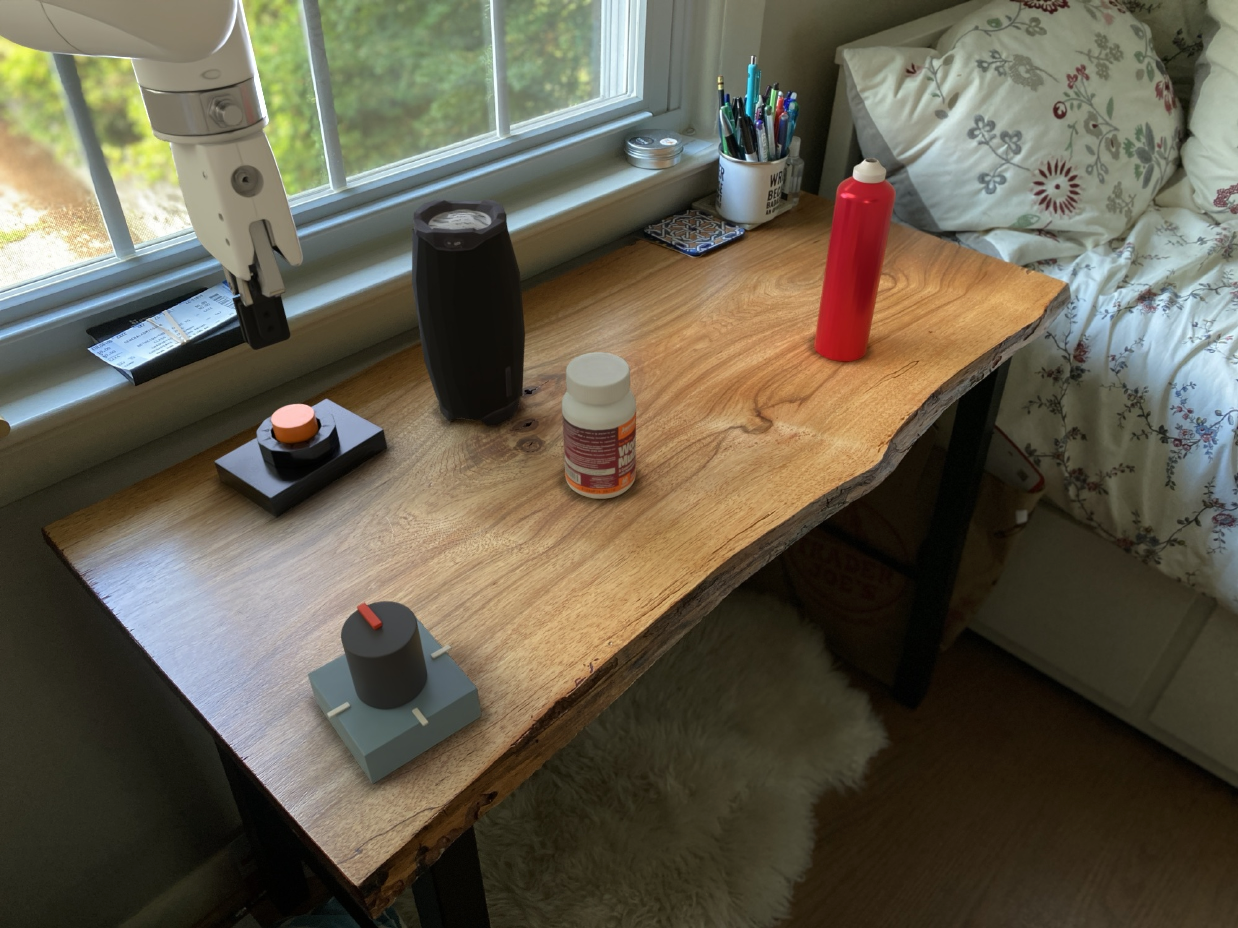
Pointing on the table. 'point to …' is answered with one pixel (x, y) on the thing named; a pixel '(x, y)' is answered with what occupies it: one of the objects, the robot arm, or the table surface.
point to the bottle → (854, 262)
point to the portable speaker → (469, 308)
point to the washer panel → (397, 711)
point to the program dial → (384, 654)
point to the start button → (294, 423)
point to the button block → (300, 459)
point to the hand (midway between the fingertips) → (268, 340)
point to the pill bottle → (599, 426)
